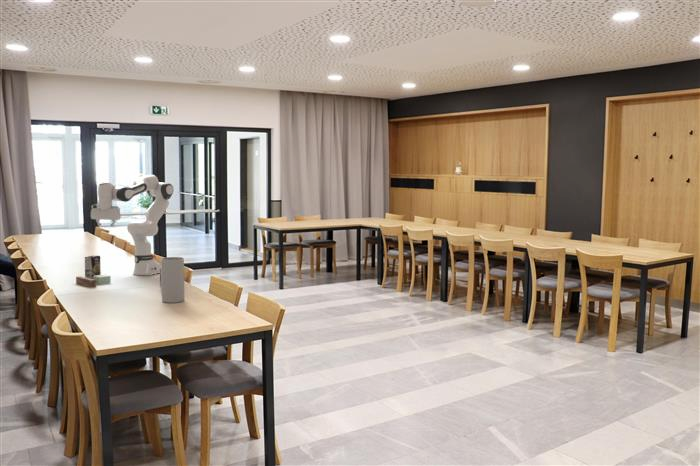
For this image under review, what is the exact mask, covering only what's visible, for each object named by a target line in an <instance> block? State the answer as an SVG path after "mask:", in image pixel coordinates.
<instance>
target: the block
mask: <svg viewBox="0 0 700 466" xmlns="http://www.w3.org/2000/svg"><path fill="white" fill-rule="evenodd" d="M93 279H94V280H96V285H106V284H111V283H112V282H111V280H112V279H111V275H107V274H101V275H96V276H93Z"/></svg>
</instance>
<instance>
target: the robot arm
mask: <svg viewBox="0 0 700 466" xmlns="http://www.w3.org/2000/svg"><path fill="white" fill-rule="evenodd" d="M97 187H98V188H97V195H98V201H97V202H98V203H95V204H92V205H91V210H90V218H91V220H95V222H96V223H97V226H98V227H101V226H102V223H101V222H100V220H108V221H110V220H111V223H110V227H115V223H116V221H119V220H120V219H121V208H120V206H118V205H117V206H115V205H113V201H117V202H125V203H126V202H129V201H131V200H132V199H133V197H135V196H137V195H140V194H142V193H145V192H146V193H147V195H148V196H150V197H153V198H155V199H154V201H153V202H152V203H151V204H150V206H149V207H148V208H147V209H146V210H145V213H144V215H145V218H144V219H143V220H137V219H136V220H132V221H130V222H129V223H128V224H127V228H126V230H127V231H128V233H129V234H130V236H131V237H132V239H133V243H134V244H133V245H134V268H133V275H135V276H154V275H158V274H157V273H160V266H161V263H160V262H158V261H156V260H155V259H156V258H157V256H156V254H152V243H151V242H150V241H149V240H148V238H147V237H154V236H156V235H157V234H158V232H159V226H158V223H159V220H160V219H161V218H162V216H163V215H164V214H165V212H166V211H167V209H168V206H169V204H170V202H169V200H170V199H171V197H172V195H173V194H174V186H173V184H171V183H170V182H160V181H159V179H158V177H157V176H156V175H155V174H147V175H142V176H140V177H138V178H135V180H134V181H133V186H131V187H129V186H115V185H113V183H111V182H110V181H104V182H100V183H99V184H98V186H97ZM154 258H155V259H154ZM153 274H154V275H153Z"/></svg>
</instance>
